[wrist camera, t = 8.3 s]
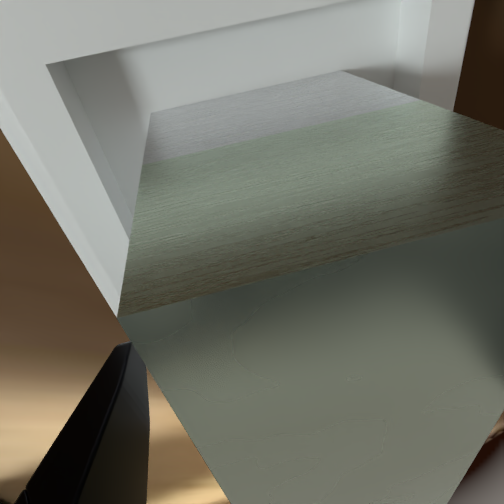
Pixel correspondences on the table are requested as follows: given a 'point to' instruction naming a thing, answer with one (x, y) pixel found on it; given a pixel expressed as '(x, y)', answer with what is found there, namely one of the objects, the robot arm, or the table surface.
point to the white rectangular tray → (185, 84)
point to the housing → (322, 289)
